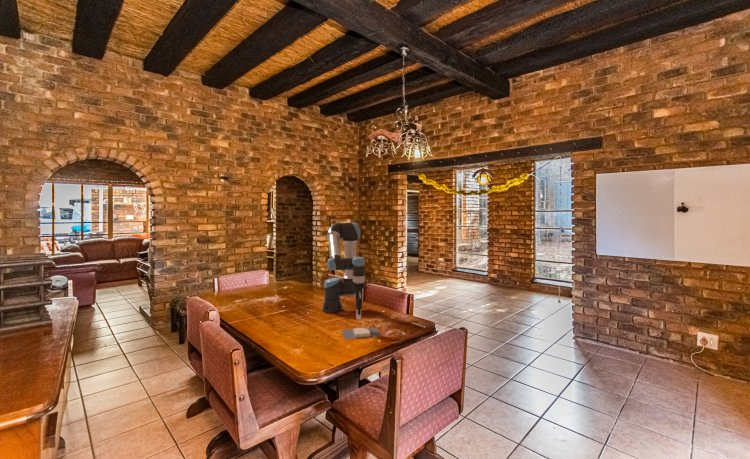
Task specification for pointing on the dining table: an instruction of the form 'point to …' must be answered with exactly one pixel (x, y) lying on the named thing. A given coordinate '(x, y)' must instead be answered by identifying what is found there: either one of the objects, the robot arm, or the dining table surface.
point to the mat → (350, 335)
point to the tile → (361, 332)
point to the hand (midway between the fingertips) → (358, 318)
